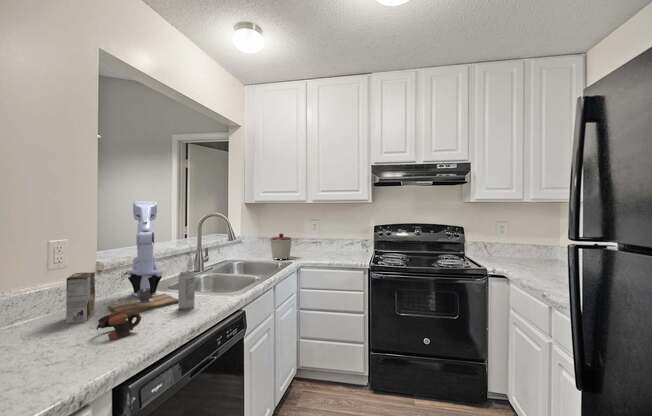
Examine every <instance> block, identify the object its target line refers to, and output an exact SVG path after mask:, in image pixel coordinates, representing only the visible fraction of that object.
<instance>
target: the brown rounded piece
mask: <svg viewBox="0 0 652 416" xmlns="http://www.w3.org/2000/svg"><path fill="white" fill-rule="evenodd" d="M134 318H136V319H135V321H134V322H133V320H134ZM97 321H98V325H97V327H96V331H97V330H99V329H105V328H113V329H114V330H113V331H112V332H110V333H108V334H107V336H108V340H109V341H113V340H116V339H119V338H124V337H127V336H130V335H131V334H130V332H131V331H133V329H134V328H135V327H137V326H139V324H140V322H141V321H142V316H141V314H140V313H139V312H138V313H132V314H129V315H127V314H125V311H120V312H116V313H115V312H113V313H109V314H107V315H104V316H103V317H100V318H99V319H98V320H97Z"/></svg>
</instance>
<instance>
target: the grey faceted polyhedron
mask: <svg viewBox="0 0 652 416" xmlns="http://www.w3.org/2000/svg"><path fill="white" fill-rule="evenodd" d="M152 296H154V294H150V288H148V289H141V290H138V291H137V296H136V299H139V300H147V299H150V298H152Z"/></svg>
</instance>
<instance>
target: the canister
mask: <svg viewBox="0 0 652 416" xmlns="http://www.w3.org/2000/svg"><path fill="white" fill-rule="evenodd" d="M269 240H270V247H271V254H272V255H271V256H272V259H273V258H277V259H286V258H290V256H291V251H292V250H291V249H292V240H293V238H291V237H289V236H284V233H279V234H278V236H274V237H273V236H272V237H271V238H270V239H269Z"/></svg>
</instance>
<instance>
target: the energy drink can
mask: <svg viewBox="0 0 652 416" xmlns="http://www.w3.org/2000/svg"><path fill="white" fill-rule="evenodd" d="M195 277H196V274H195V272H194V270H193V269H183V270H181V271H180V273H179V274H178V296H177V297H178V298H177V299H178V303H177V305H178V308H179V309H180V310H191V309H192V308H194V306H195V300H196V299H195V295H196V294H195V292H196V290H195V289H196V288H195V287H196V286H195V282H196V281H195Z"/></svg>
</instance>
